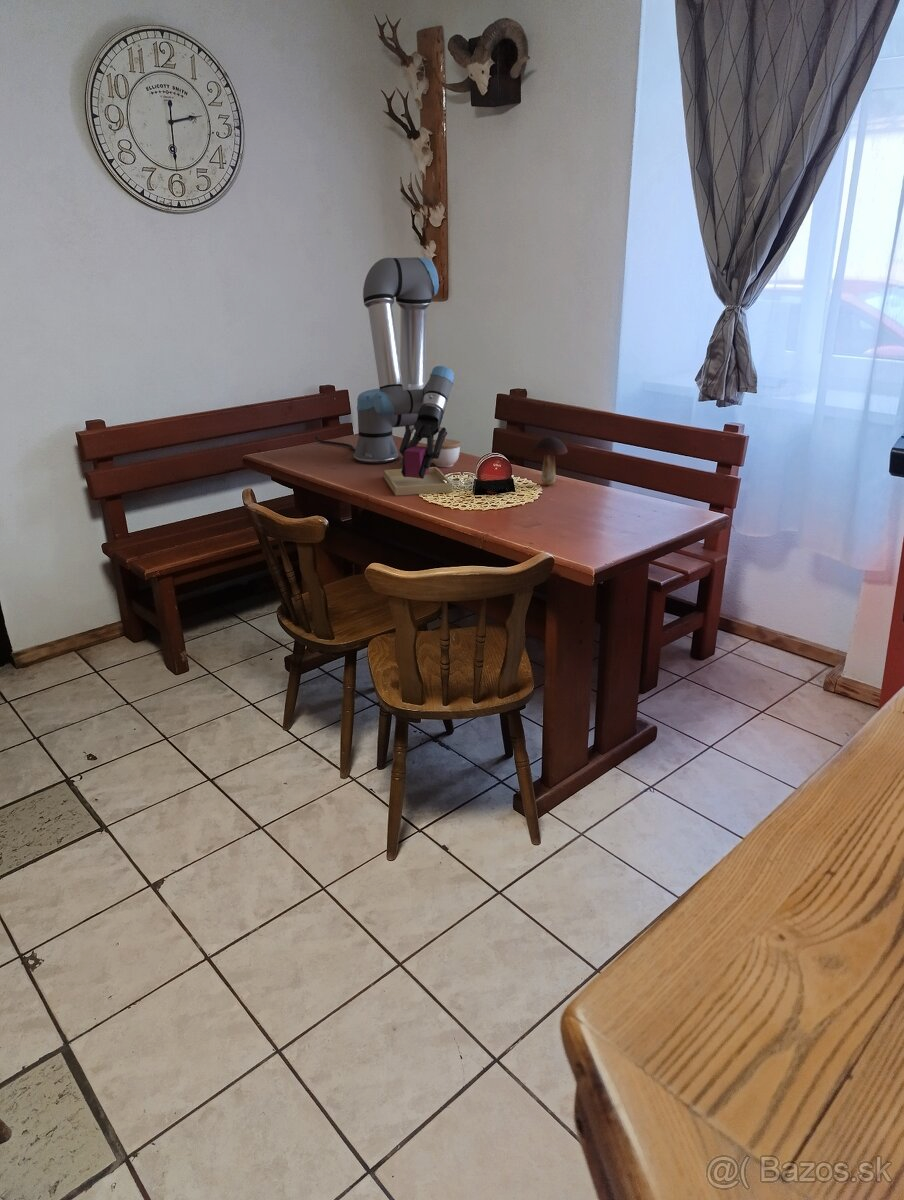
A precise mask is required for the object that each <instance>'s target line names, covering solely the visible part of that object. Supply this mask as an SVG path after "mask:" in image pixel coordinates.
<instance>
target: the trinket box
mask: <svg viewBox="0 0 904 1200" xmlns="http://www.w3.org/2000/svg"><path fill="white" fill-rule="evenodd" d="M436 440H437V439H434V441H433V451H434V447H435V444H436ZM460 452H461V441H459V440H458V439H452V438H451V439H450V438H447V437H446V436H445V438H444V440H443V444H442V448H441V451H440V455H439V458H438V459H436V458H434V459H432V461H431V462H432V463H433V464H434V465H435V467H437V468H451V467H453V466H454V464H456V463H457V462H458V460H459V457H460Z"/></svg>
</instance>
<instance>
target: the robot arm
mask: <svg viewBox="0 0 904 1200" xmlns="http://www.w3.org/2000/svg"><path fill="white" fill-rule="evenodd" d="M439 281H440V280H439V275H438V271H437V268H436V266H435V263H434V262H433V261H432V260H431V259H429V258H426V257H416V256H414V257H384V258H380V259H379V260H378V261H376V262H375V263H374V264H373V265H371V267H370V269H369V270H368V272H367V274H366V277H365V279H364V283H363V287H362V288H363V289H362V299H363V305H364V307H365V308H367V310H368V318H369V324H370V332H371V340H372V346H373V352H374V359H375V367H376V374H377V382H378V387H379V388H373V389H367V390H365V391H362V392H360V393H359V394H358V395H357V398H356V399H357V402H356V404H357V405H356V411H357V429H358V430H357V431H358V437H357V438H358V439H357V442H356V445H355V448H354V446H353V445H352V444H349V443H345V442H338V441H332V440H331V441H330V440H324V439H323V440H322V439H320V438H319V435H317V434H316V435H315V437H314V440H316V441H317V442H318V443H321V444H330V445H338V446H343V447H348V448H350V449H351V450H352V451H353V452H354V454H353V458H354V461H355V462H357V463H360V464H368V465H369V464H370V465H381V464H389V463H393V462H396V461H398V460H399V453H400V454H401V456H402V459H401V464H402V468H401V469H402V471H401V473H402V474H403V476H404V477H405V450H407V449H409V448H411V447H413V446H418V445H419V443H420V442H421V441H422V440H423V439H426V447H427V453H426V454H427V456H425V455H424V458H423V461H422V464H421V468H420V471H419V476H420V477H421V479H423V478H424V475H425V472H426V468H429V467H431V464H432V462H433V461H432V459H434V458H436V459H438V458H439V455H440V451H441V448H442V444H443V440H444V438H445V437H446V436H447V435H448V431H447V429H446V427H441V425H442V420H443V417H444V414H445V411H446V407H447V403H448V401H449V397H450V393H451V390H452V387H453V385H454V380H455V373H454V371H453V370H452V369H451V368H450V367H447V366H445V365H436V366H434V367H433V368H432V369H431V373H430V374H429V379H428V380H427V382H426V357H427V355H426V353H427V310H428V307H429V306H430V305H432V298H433V297H435V296H436V295H437V294H438V291H439V287H440V283H439ZM394 303H396V304H397V305H398V306H399V308H400V309H399V311H400V317H399V319H400V320H399V321H400V322H399V323H400V324H399V325H400V326H399V328H400V329H399V333H400V334H399V340H400V341H399V347H398V342H397V334H396V328H395V321H394V312H393V305H394ZM398 349H399V350H398ZM403 427H404V428H405V429H404V430H405V431H404V435H403V438H402V440H401V444H400V446H399V450H398V448H397V446H396V442H395V439H394V437H393V435H394V434H393V429H394V428H403ZM414 430H415V431H414ZM412 434H413V437H412ZM436 435H437V437H436V439H435V438H434V436H436ZM434 440H436V444H435V447H434V451H433V441H434Z"/></svg>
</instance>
